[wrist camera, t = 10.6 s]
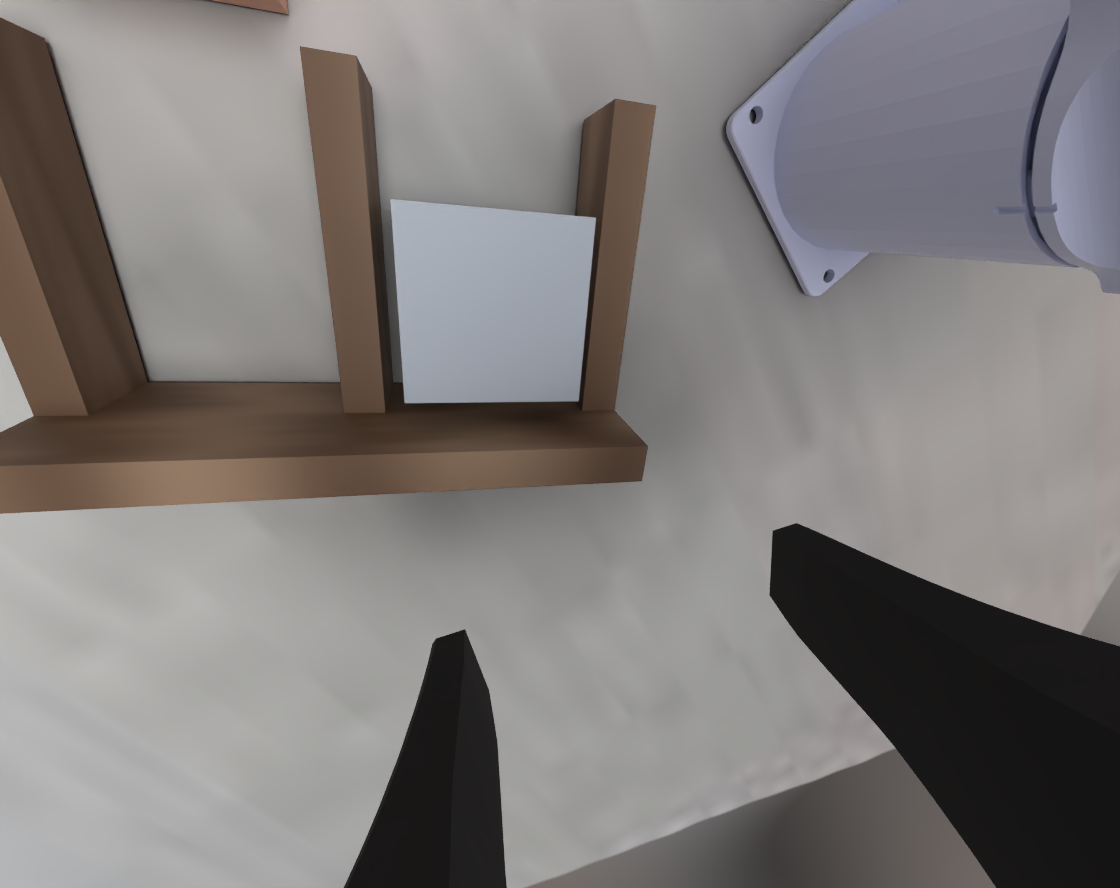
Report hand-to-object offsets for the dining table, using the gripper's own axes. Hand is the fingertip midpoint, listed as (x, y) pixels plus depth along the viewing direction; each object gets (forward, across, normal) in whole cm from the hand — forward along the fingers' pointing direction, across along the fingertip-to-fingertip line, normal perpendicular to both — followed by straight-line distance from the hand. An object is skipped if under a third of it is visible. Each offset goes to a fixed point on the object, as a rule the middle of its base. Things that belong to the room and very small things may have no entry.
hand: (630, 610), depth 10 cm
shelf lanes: (+10, +4, -8) cm, 14 cm away
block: (+10, +1, -6) cm, 12 cm away
